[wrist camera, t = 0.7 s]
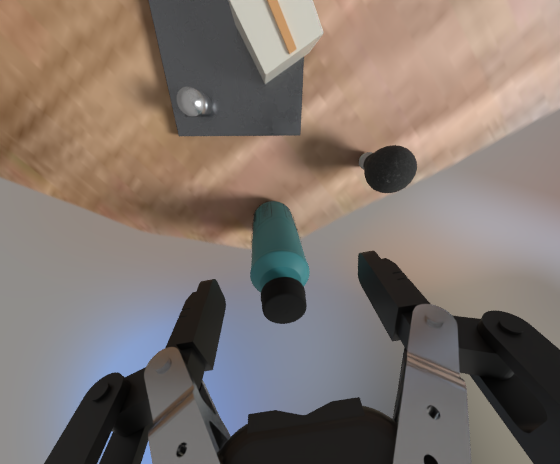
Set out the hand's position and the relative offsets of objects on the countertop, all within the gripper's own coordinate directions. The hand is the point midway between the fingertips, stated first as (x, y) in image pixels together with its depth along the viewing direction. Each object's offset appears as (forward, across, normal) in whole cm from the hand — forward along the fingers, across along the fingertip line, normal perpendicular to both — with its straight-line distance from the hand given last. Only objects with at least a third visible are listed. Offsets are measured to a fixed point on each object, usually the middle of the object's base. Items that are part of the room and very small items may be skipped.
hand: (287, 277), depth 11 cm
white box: (+22, -3, -15) cm, 26 cm away
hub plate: (+23, +2, -13) cm, 27 cm away
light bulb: (+23, -14, +1) cm, 27 cm away
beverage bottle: (+23, +2, +7) cm, 24 cm away
